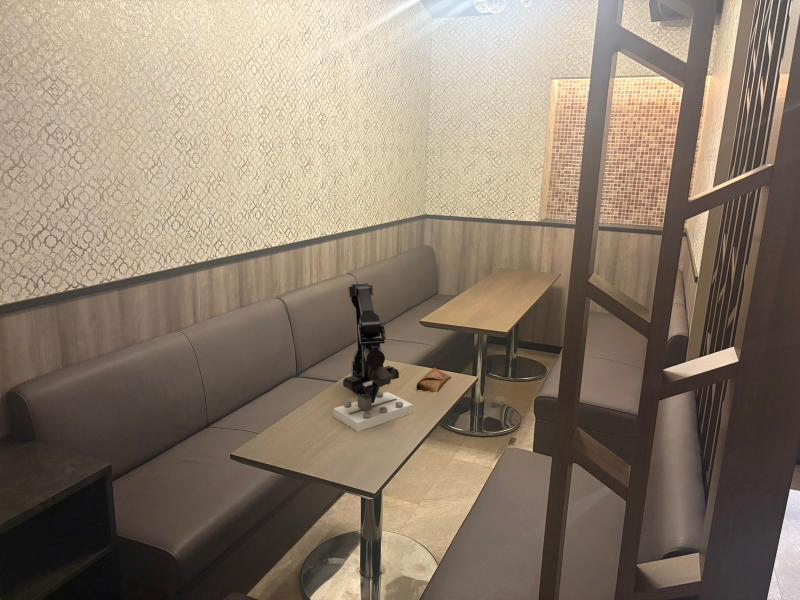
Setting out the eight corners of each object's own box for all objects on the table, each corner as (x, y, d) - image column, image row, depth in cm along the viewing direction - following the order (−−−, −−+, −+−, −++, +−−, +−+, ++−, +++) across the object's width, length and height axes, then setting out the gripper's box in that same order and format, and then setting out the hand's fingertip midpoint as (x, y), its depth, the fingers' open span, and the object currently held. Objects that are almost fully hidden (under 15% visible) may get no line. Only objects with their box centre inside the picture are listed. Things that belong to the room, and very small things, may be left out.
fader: (357, 406, 192) (357, 395, 191) (363, 405, 193) (363, 393, 192) (365, 411, 189) (365, 399, 188) (371, 409, 190) (371, 397, 189)
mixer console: (334, 416, 193) (333, 404, 192) (387, 399, 206) (387, 388, 205) (357, 431, 182) (357, 419, 181) (412, 412, 195) (412, 401, 194)
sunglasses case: (438, 393, 211) (429, 376, 211) (422, 400, 214) (413, 384, 214) (452, 376, 227) (444, 361, 227) (438, 383, 230) (429, 368, 230)
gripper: (361, 370, 177) (362, 418, 181) (409, 357, 188) (409, 402, 192) (341, 361, 186) (343, 407, 189) (388, 349, 197) (389, 392, 200)
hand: (372, 402), depth 192 cm, fingers closed
